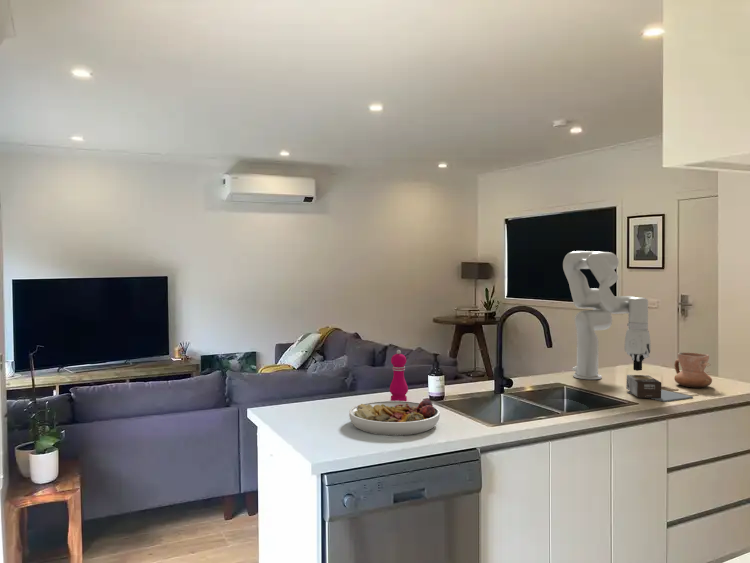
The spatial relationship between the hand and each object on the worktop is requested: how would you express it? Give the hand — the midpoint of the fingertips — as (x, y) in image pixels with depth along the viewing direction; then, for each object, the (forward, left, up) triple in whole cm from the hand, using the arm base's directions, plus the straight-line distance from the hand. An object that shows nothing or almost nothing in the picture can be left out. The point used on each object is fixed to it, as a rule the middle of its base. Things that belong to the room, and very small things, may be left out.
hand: (637, 370), depth 252 cm
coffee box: (+1, -1, -5) cm, 5 cm away
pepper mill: (-25, -100, -9) cm, 103 cm away
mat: (+11, 0, -9) cm, 14 cm away
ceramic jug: (+3, +29, -9) cm, 30 cm away
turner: (+7, +12, -9) cm, 17 cm away
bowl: (+6, -117, -9) cm, 118 cm away
